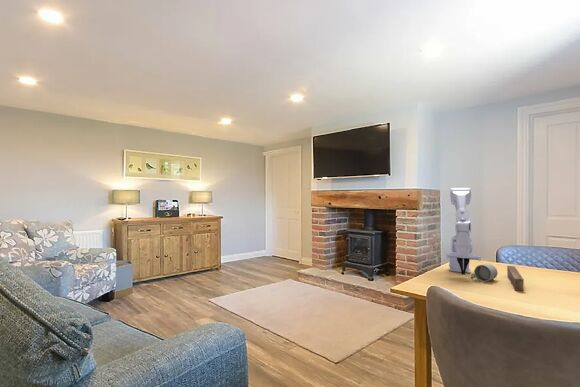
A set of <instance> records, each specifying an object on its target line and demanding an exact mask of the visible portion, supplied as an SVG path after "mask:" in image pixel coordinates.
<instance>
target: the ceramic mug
mask: <svg viewBox="0 0 580 387" xmlns="http://www.w3.org/2000/svg"><path fill="white" fill-rule="evenodd" d="M498 274H499V273H498V269H497V267H495V266H494V265H492V264H489V263H485V264H479V265H477V266H476V267H475V268H474V271H473V273H471V274H470V278H476V279H477V280H478V281H479V282H483V283H485V282H489V281H491V280H494V279H496V278H497V276H498Z"/></svg>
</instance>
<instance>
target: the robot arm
mask: <svg viewBox="0 0 580 387" xmlns="http://www.w3.org/2000/svg"><path fill="white" fill-rule="evenodd" d="M449 190H450V191H449V192H450V194H449V195H450V196H449V197H450V203H451V205H453V206H454V208H455V223H454V226H455V228H454V229H455V235H454V236H452V237H451V239H450V253H448V252H447V253H446V258H447V259H449V263H448V267H449V272H458V273H459V272H460V273H461V275H466V274H467V273H469V274H470V273H471V268H470V260H472V261H482V260H481V258H482V256H481V255H474V254H472V253H473V243H472V239H471V238H472V237H471V232H472V224H471V223H472V222H471V220H470V216H469V215H470V214H469V213H470V212H469V210H467V209H466V207H467V205H470V203H471V199H472V188H471V187H450V189H449Z"/></svg>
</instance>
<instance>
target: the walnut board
mask: <svg viewBox="0 0 580 387" xmlns="http://www.w3.org/2000/svg"><path fill="white" fill-rule="evenodd" d="M506 268H507V269H506V270H507V272H506V273H507V274H506V275H507V278H508V280H509V282H510V284H511V285H512V287H513V289H514V291H517V292H524V290H525V289H524V288H525V287H524V281H525V280H524V278H523V277H522V275H521V274H520V272H519V271H518V269H517V267H516V266H515V265H514V266H513V265H507V267H506Z"/></svg>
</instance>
